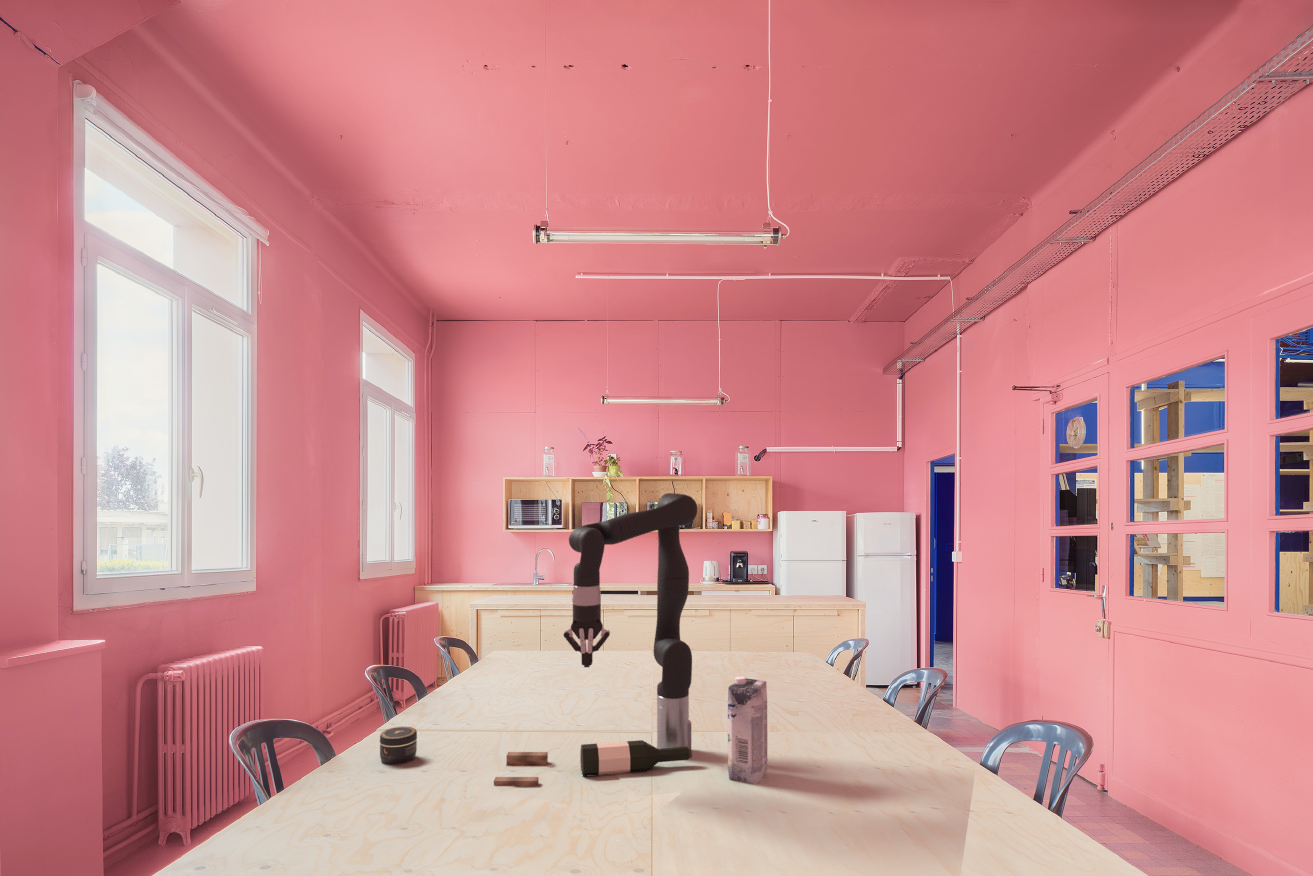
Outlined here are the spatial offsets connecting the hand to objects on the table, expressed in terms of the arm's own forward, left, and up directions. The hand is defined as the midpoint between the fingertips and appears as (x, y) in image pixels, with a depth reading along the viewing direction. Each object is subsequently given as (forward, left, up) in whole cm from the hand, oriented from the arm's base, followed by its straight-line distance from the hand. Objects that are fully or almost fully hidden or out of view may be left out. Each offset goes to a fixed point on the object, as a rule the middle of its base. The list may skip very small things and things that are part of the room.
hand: (586, 666), depth 202 cm
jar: (+47, -29, -29) cm, 63 cm away
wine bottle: (+1, -1, -25) cm, 25 cm away
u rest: (+16, -5, -29) cm, 34 cm away
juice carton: (-39, +18, -29) cm, 52 cm away
